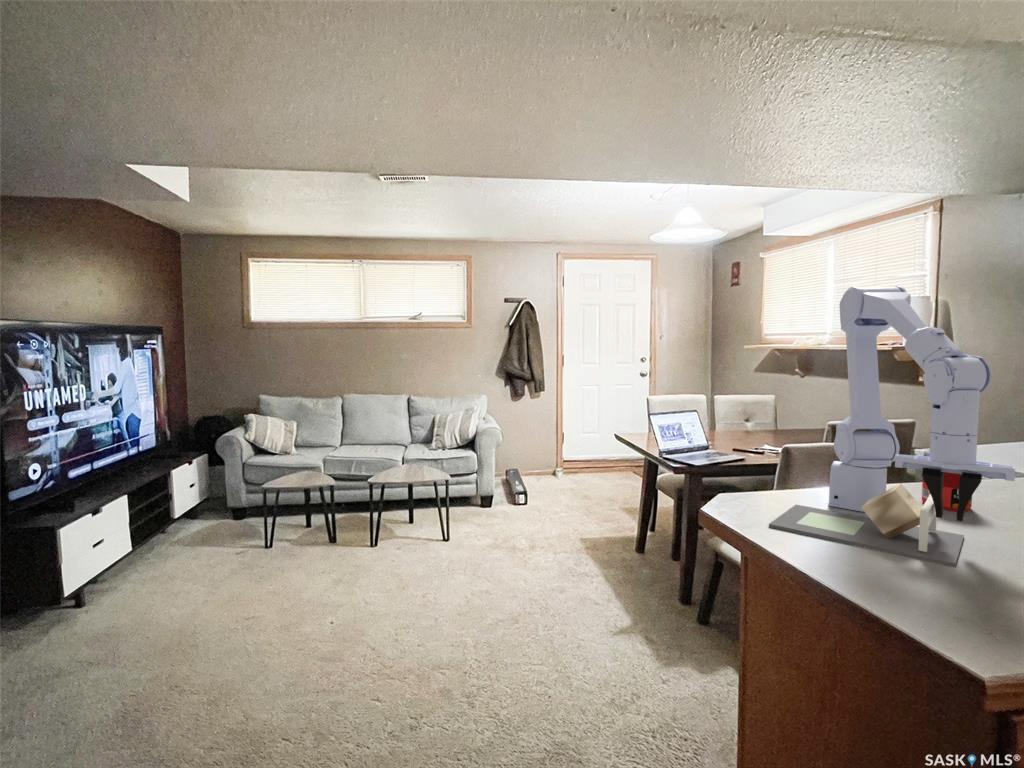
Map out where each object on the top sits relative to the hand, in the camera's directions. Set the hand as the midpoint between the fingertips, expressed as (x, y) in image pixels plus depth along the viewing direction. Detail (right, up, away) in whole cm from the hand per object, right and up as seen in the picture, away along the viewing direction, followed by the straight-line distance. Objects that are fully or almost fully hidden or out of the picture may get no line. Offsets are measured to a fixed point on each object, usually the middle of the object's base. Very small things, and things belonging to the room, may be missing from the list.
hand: (949, 517), depth 85 cm
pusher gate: (-2, -5, +2) cm, 6 cm away
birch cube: (-4, -2, +4) cm, 6 cm away
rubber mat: (-8, -5, +8) cm, 13 cm away
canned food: (+18, -4, +23) cm, 30 cm away
